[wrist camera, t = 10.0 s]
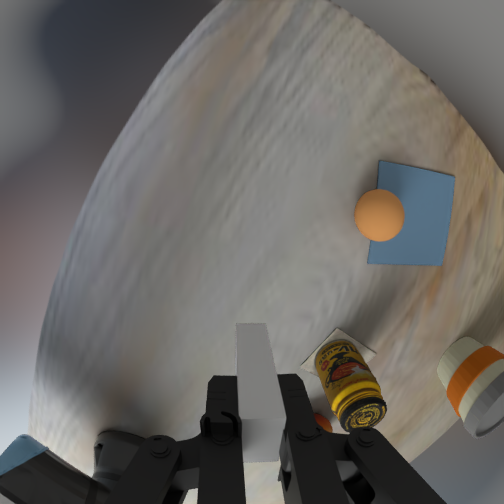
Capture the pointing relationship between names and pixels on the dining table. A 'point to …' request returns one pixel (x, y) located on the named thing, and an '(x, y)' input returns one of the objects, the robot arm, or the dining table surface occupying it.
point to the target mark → (416, 216)
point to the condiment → (348, 381)
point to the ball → (379, 215)
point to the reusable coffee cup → (474, 384)
